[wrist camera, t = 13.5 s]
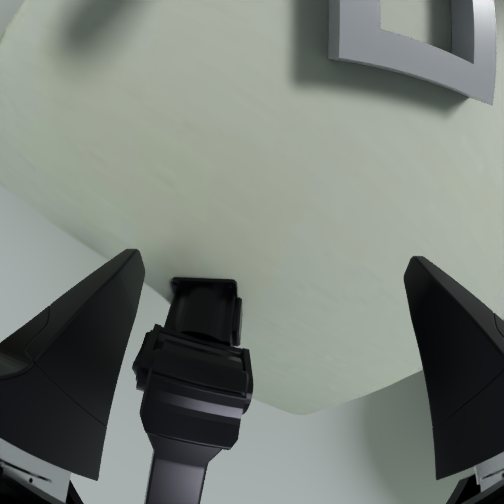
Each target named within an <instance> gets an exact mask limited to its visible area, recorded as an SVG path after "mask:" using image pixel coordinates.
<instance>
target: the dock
mask: <svg viewBox="0 0 504 504" xmlns="http://www.w3.org/2000/svg"><path fill="white" fill-rule="evenodd" d="M450 1H451V21H452V47H451V53H449V52H446V51H444V50H442V49H439V48H437V47H434V46H432V45H429V44H426V43H424V42H421V41H418V40H415V39H412V38H409V37H406V36H403V35H400V34H397V33H393V32H390V31H386V30H382V29H380V0H329V34H328V59H331V60H338V61H345V62H351V63H356V64H362V65H367V66H372V67H376V68H381V69H385V70H389V71H393V72H397V73H401V74H404V75H408V76H411V77H415V78H418V79H421V80H424V81H427V82H431V83H433V84H436V85H439V86H442V87H445V88H447V89H450V90H453V91H455V92H458V93H460V94H463V95H465V96H467V97H470V98H473V99H476V100H478V101H481V102H484V103H487V104H489V105H493V97H494V88H495V76H496V55H497V38H496V17H495V6H494V0H450Z"/></svg>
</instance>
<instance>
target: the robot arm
mask: <svg viewBox="0 0 504 504" xmlns="http://www.w3.org/2000/svg"><path fill="white" fill-rule="evenodd" d="M144 277H145V268H144V264H143V261H142V257H141V254H140V251H139V250H138V249H126V250H124V251H123V252H121V253H120V254H118V255H117V256H115V257H114V258H113V259H111V260H110V261H108V262H107V263H105V264H104V265H103V266H101V267H100V268H98V269H97V270H96V271H94V272H93V273H92V274H90V275H89V276H87V277H86V278H85V279H84V280H82V281H81V282H79V283H78V284H77V285H75V286H74V287H73V288H71V289H70V290H69V291H68V292H66V293H65V294H63V295H62V296H61V297H60V298H58V299H57V300H56V301H54V302H53V303H52V304H51V305H50V306H48V307H47V308H45V309H44V310H43V311H42V312H40V313H39V314H38V315H37V316H35V317H34V318H33V319H32V320H30V321H29V322H28V323H26V324H25V325H24V326H22V327H21V328H19V329H18V330H17V331H15V332H14V333H13V334H11V335H10V336H9V337H7V338H6V339H5V340H3V341H2V342H1V343H0V504H84V503H83V502H82V500H81V498H80V497H79V495H78V493H77V492H76V490H75V488H74V486H73V484H72V483H71V481H70V476H71V472H72V473H75V474H78V475H81V476H84V477H86V478H90V479H93V480H96V481H97V480H98V477H99V470H100V464H101V456H102V451H103V444H104V440H105V435H106V429H107V423H108V419H109V414H110V409H111V405H112V401H113V396H114V392H115V388H116V384H117V380H118V376H119V372H120V368H121V365H122V361H123V357H124V354H125V350H126V347H127V343H128V340H129V337H130V333H131V330H132V326H133V323H134V320H135V317H136V313H137V308H138V304H139V299H140V295H141V290H142V286H143V281H144ZM176 282H177V283H176ZM230 284H232V285H230ZM404 284H405V289H406V294H407V299H408V304H409V310H410V315H411V320H412V324H413V328H414V332H415V336H416V340H417V344H418V348H419V352H420V357H421V361H422V366H423V370H424V375H425V381H426V386H427V392H428V398H429V405H430V412H431V419H432V426H433V428H432V429H433V439H434V451H435V469H436V480H439V479H442V478H445V477H448V476H451V475H453V474H456V473H459V472H461V471H464V470H466V469H468V468H471V467H473V466H474V468H475V473H473V474H471V475H469V476H467V477H465V478H463V479H461V480H460V481H459V482H458V484H457V486H456V488H455V490H454V492H453V493H452V495H451V497H450V498H449V500H448V501H447V503H446V504H504V321H503V320H502V319H501V318H500V317H499V316H497V315H496V314H495V313H493V311H492V310H491V309H489V308H488V307H487V306H486V305H485V304H484V303H482V302H481V301H480V300H479V299H478V298H476V297H475V296H474V295H473V294H472V293H470V292H469V291H468V290H467V289H465V288H464V287H463V286H462V285H460V284H459V283H458V282H457V281H455V280H454V279H453V278H452V277H450V276H449V275H448V274H446V273H445V272H444V271H442V270H441V269H440V268H438V267H437V266H436V265H434V264H433V263H432V262H430V261H429V260H428V259H426V258H425V257H423V256H413V257H412V258H411V259H410V262H409V264H408V267H407V269H406V271H405V274H404ZM171 285H172V289H173V293H174V297H173V300H172V303H171V306H170V309H169V313H168V316H167V319H166V322H165V326H164V327H161V325H158V324H155V326H154V329H153V330H151V331H150V332H147V333H146V335H145V338H144V341H143V344H142V347H141V349H140V351H139V353H138V355H137V357H136V359H135V361H134V363H133V366H132V369H133V371H134V373H135V375H136V381H137V386H136V388H137V390H141V391H143V392H144V394H143V399H142V403H141V408H140V417H141V420H142V423H143V427H144V430H145V431H146V433H147V435H148V437H149V440H150V442H151V445H152V447H153V455H152V460H151V466H150V471H149V477H148V483H147V489H146V495H145V502H144V504H200V500H201V495H202V490H203V485H204V480H205V475H206V470H207V466H208V462H209V461H210V460H212V459H213V458H214V457H215V456H216V455H217V454H218V453H219V452H220V451H221V450H222V449H225V450H229V449H231V448H232V446H233V445H234V444H235V443H236V441H237V440H238V435H239V427H240V421H241V416H242V414H244V413H245V412H246V411H247V409H248V407H249V405H250V402H251V398H252V393H253V376H252V368H251V361H250V353H249V349H245V348H243V349H241V348H236V347H234V346H239V345H240V339H241V326H242V299H241V298H238V294H237V282H236V281H235V280H230V279H203V278H179V277H174V278H173V279H172V281H171Z"/></svg>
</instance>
